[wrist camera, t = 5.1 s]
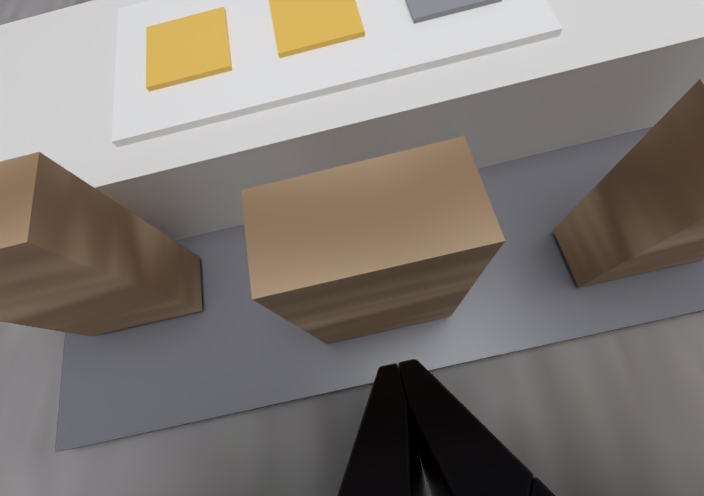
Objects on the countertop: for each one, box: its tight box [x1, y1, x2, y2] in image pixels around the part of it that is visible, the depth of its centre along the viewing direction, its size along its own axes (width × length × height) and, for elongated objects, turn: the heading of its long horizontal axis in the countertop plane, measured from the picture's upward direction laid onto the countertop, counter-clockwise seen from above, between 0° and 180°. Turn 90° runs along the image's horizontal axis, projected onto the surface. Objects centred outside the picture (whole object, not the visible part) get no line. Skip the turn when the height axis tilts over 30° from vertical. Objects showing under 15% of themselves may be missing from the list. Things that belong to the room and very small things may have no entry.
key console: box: [0, 0, 704, 452], centre depth 15 cm, size 18×28×6 cm, turn 101°
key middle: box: [241, 136, 505, 344], centre depth 11 cm, size 2×5×8 cm, turn 102°
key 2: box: [0, 152, 202, 336], centre depth 13 cm, size 2×5×8 cm, turn 101°
